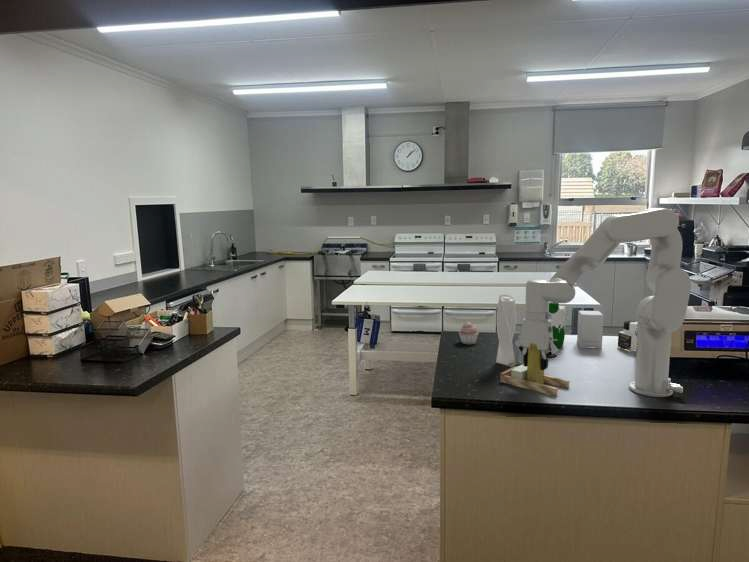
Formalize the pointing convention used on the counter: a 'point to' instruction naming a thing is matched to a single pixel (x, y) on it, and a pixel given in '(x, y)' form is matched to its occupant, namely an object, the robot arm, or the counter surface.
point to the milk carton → (557, 323)
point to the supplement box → (590, 329)
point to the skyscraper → (506, 332)
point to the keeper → (519, 372)
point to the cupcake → (468, 333)
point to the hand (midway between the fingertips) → (535, 367)
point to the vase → (534, 365)
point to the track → (507, 378)
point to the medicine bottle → (628, 336)
